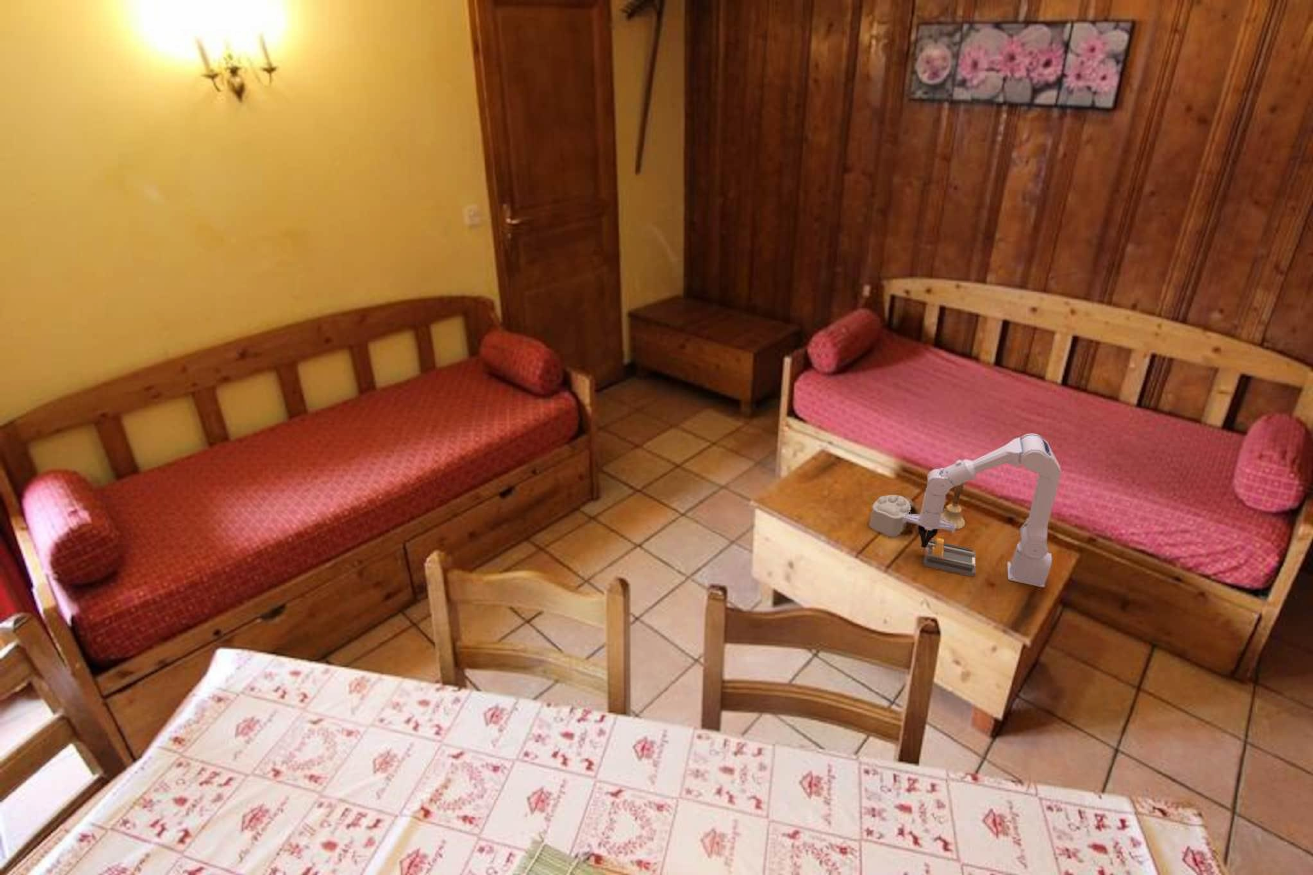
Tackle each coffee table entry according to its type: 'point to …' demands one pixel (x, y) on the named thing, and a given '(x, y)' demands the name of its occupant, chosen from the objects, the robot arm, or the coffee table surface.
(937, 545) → the breaker lever
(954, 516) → the hand bell
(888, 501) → the lumpy-topped squat cylinder
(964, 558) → the breaker panel
